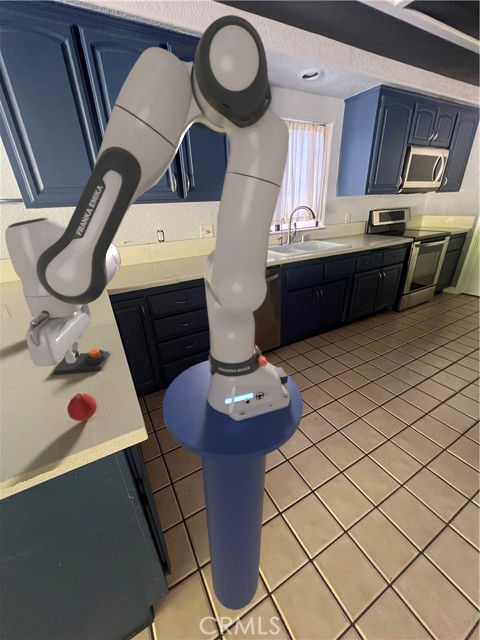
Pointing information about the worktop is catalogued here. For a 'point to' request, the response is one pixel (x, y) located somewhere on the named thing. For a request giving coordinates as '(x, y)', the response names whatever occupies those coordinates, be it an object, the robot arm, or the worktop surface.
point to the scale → (82, 363)
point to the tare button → (94, 353)
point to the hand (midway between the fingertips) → (73, 359)
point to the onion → (82, 407)
